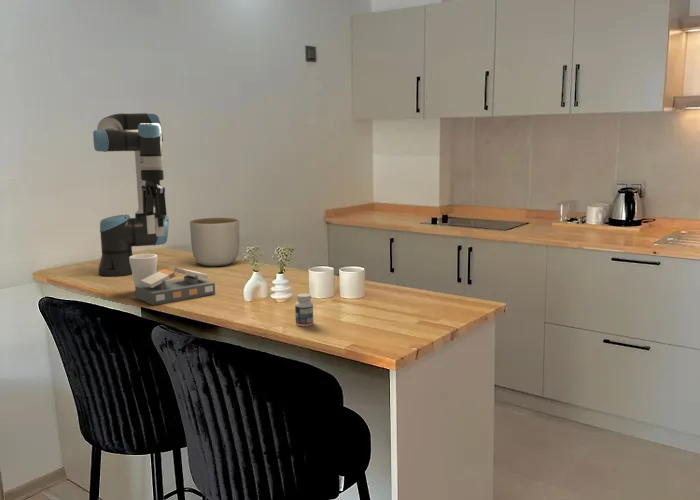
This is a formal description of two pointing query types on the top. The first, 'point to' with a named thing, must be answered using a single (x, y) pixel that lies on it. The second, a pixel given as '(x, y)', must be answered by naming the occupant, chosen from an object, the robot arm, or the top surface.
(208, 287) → the switch unit
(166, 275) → the block
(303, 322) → the pill bottle
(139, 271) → the foam cup
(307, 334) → the top surface
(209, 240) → the planter
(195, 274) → the panel
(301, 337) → the top surface
